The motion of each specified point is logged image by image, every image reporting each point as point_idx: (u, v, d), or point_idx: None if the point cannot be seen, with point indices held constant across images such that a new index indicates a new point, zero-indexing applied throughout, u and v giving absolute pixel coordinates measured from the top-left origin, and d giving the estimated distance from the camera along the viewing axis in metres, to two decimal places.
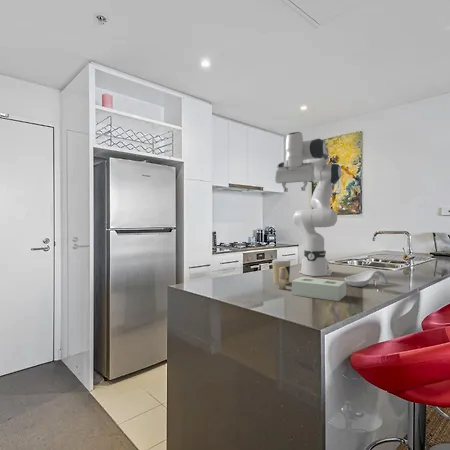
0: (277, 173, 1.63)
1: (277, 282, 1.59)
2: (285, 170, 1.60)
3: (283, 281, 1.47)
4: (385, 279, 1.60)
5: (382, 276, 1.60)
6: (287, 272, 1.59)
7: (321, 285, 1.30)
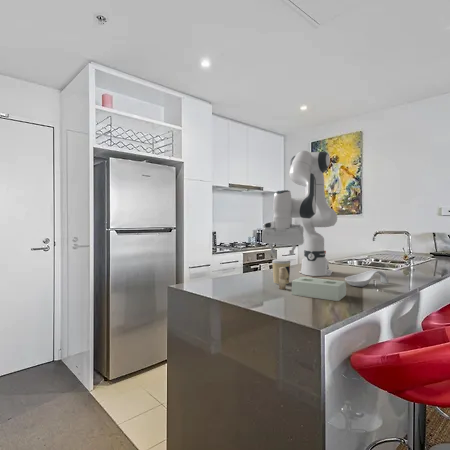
0: (264, 233, 1.51)
1: (277, 282, 1.59)
2: (272, 231, 1.49)
3: (283, 281, 1.47)
4: (386, 279, 1.59)
5: (383, 276, 1.60)
6: (287, 272, 1.59)
7: (321, 285, 1.30)
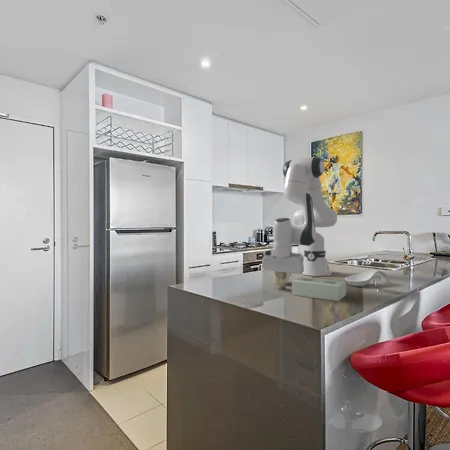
0: (264, 260, 1.52)
1: (277, 282, 1.59)
2: (272, 258, 1.49)
3: (283, 281, 1.47)
4: (387, 279, 1.59)
5: (384, 276, 1.60)
6: None
7: (321, 285, 1.30)
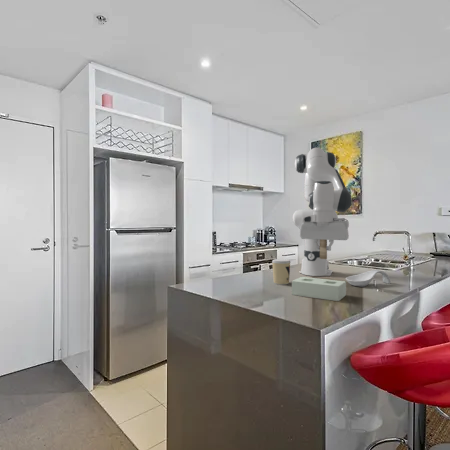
0: (302, 228, 1.38)
1: (277, 282, 1.59)
2: (312, 225, 1.36)
3: (324, 250, 1.34)
4: (388, 279, 1.59)
5: (385, 276, 1.60)
6: (287, 272, 1.59)
7: (321, 285, 1.30)
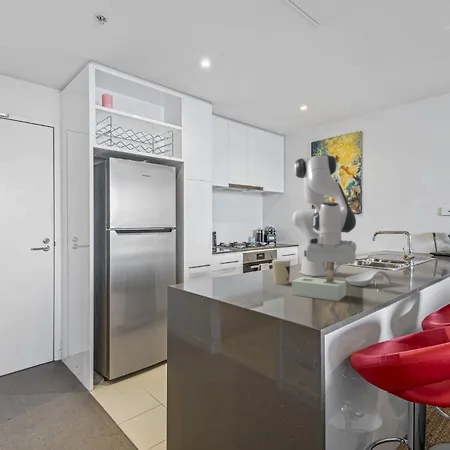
0: (309, 249, 1.37)
1: (277, 282, 1.59)
2: (319, 247, 1.34)
3: (331, 272, 1.32)
4: (389, 279, 1.59)
5: (386, 276, 1.60)
6: (287, 272, 1.59)
7: (321, 285, 1.30)
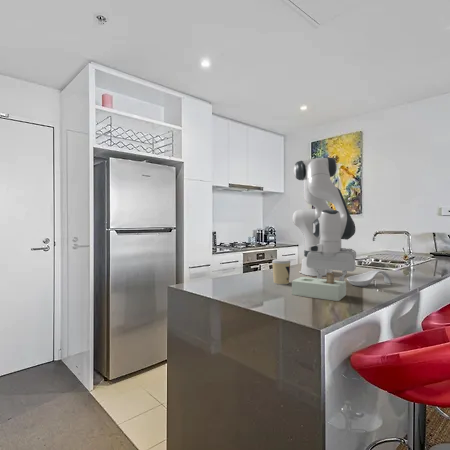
0: (309, 257, 1.37)
1: (277, 282, 1.59)
2: (319, 255, 1.34)
3: None
4: (389, 279, 1.59)
5: (386, 276, 1.59)
6: (287, 272, 1.59)
7: (321, 285, 1.30)
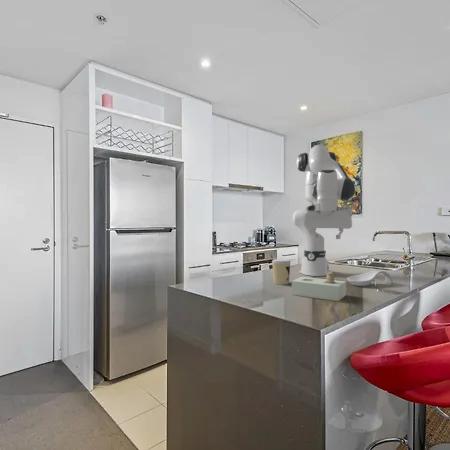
0: (306, 217, 1.39)
1: (277, 282, 1.59)
2: (316, 214, 1.37)
3: None
4: (390, 279, 1.59)
5: (387, 276, 1.59)
6: (287, 272, 1.59)
7: (321, 285, 1.30)
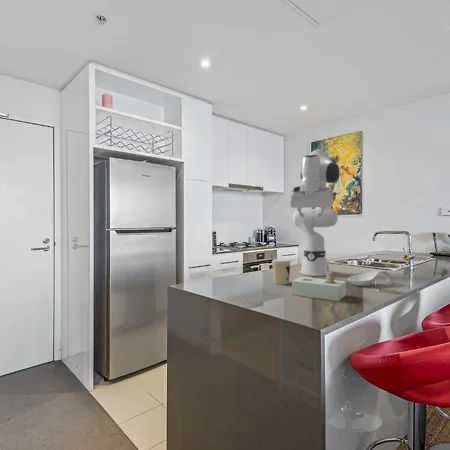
0: (292, 197, 1.54)
1: (277, 282, 1.59)
2: (301, 195, 1.52)
3: None
4: (391, 279, 1.58)
5: (388, 276, 1.59)
6: (287, 272, 1.59)
7: (321, 285, 1.30)
